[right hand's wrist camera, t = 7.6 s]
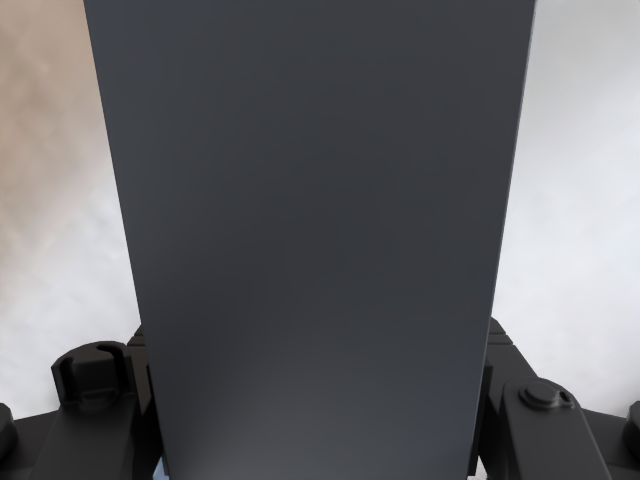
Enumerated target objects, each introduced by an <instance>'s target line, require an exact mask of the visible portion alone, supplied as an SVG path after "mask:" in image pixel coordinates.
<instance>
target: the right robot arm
mask: <svg viewBox="0 0 640 480" xmlns="http://www.w3.org/2000/svg"><path fill="white" fill-rule="evenodd" d="M51 370H52V374H53V378H54V382H55V385H56V389H57V393H58V397H59V401H60V404H61V405H60V407H59V410H56V411H53V412H49V413H45V414H41V415H36V416H31V417H27V418H22V419H18V420H13V417H12V413H11V410H10V408H9V407H7V406H6V405H5V404H4V403H0V480H154V478H153V474H154V472H155V470H156V467H157V465H158V462H159V460H160V458H162V464H163V470H164V476H169V475H168V470H167V464H166V459H165V453H164V447H163V442H162V436H161V431H160V425H159V419H158V414H157V408H156V403H155V397H154V392H153V386H152V380H151V375H150V369H149V364H148V358H147V353H146V347H145V341H144V336H143V330H142V325H140V327H139V328H138V329H137V331H136V332H135V334H134V337H132V338H131V339H130V341H129V342H128V343H127V346H126V345H125V344H124V343H120V342H116V341H98V342H94V343H89V344H85V345H82V346H80V347H77V348H75V349H73V350H70V351H69V352H67V353H66V354H64V355H63V356H61V357H60V358H58V359H57V360H56V362H55V363H54V364H53V365H52V366H51ZM478 456H480V459H481V461H482V463H483V466H484V468H485V471H486V473H487V478H486V480H640V401H636V402H635V403H634V404H633V405H632V406H630V409H629V412H628V415H627V418H622V417H617V416H613V415H608V414H603V413H599V412H594V411H590V410H587V409H583V408H581V406H580V404H579V403H578V401H577V400H576V399H575V397H574V396H573V395H572V394H571V393H570V392H568V391H567V390H566V389H565V388H563V387H562V386H560V385H558V384H556V383H554V382H552V381H550V380H547V379H543V378H539V377H538V376H537V375H536V373H535V372H534V371H533V369H532V368H531V367H530V365H529V364H528V362H527V361H526V360H525V358H524V357H523V356H522V354H521V353H520V351H519V350H518V349H517V347H516V346H515V345H513V342H512V340H511V339H510V338H509V336H508V335H506V332H505V331H504V329H503V328H502V327H501V325H500V324H499V323H498V321H497V320H495V319H494V318H492V317H491V320H490V327H489V334H488V341H487V348H486V354H485V361H484V368H483V375H482V382H481V389H480V395H479V402H478V409H477V416H476V423H475V430H474V436H473V443H472V450H471V457H470V464H469V471H468V476H475V474H476V468H477V462H478Z"/></svg>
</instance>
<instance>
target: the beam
mask: <svg viewBox="0 0 640 480" xmlns="http://www.w3.org/2000/svg"><path fill="white" fill-rule="evenodd" d="M83 1H84V7H85V12H86V18H87V23H88V29H89V35H90V40H91V46H92V51H93V57H94V62H95V68H96V74H97V79H98V85H99V90H100V96H101V102H102V107H103V113H104V118H105V124H106V129H107V135H108V141H109V146H110V152H111V157H112V163H113V168H114V174H115V180H116V185H117V191H118V196H119V202H120V208H121V213H122V219H123V224H124V230H125V235H126V241H127V247H128V252H129V258H130V263H131V269H132V274H133V280H134V286H135V291H136V297H137V302H138V308H139V314H140V319H141V325H142V330H143V336H144V341H145V347H146V353H147V358H148V364H149V369H150V375H151V380H152V386H153V392H154V397H155V403H156V408H157V414H158V419H159V425H160V431H161V436H162V442H163V447H164V453H165V459H166V464H167V470H168V475H169V480H467V477H468V471H469V464H470V457H471V450H472V443H473V436H474V430H475V423H476V416H477V409H478V402H479V395H480V389H481V382H482V375H483V368H484V361H485V354H486V348H487V341H488V334H489V327H490V320H491V313H492V307H493V300H494V293H495V286H496V279H497V273H498V266H499V259H500V252H501V245H502V238H503V232H504V225H505V218H506V211H507V204H508V197H509V191H510V184H511V177H512V170H513V163H514V156H515V150H516V143H517V136H518V129H519V122H520V115H521V109H522V102H523V95H524V88H525V81H526V75H527V68H528V61H529V54H530V47H531V40H532V34H533V27H534V20H535V13H536V6H537V0H83Z"/></svg>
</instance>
